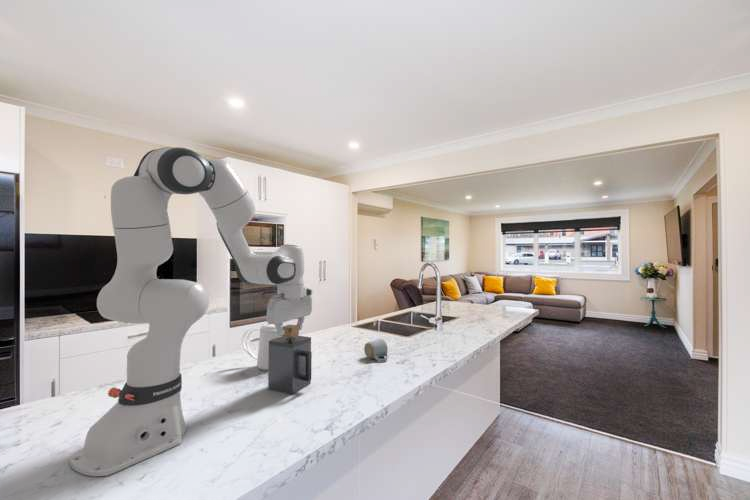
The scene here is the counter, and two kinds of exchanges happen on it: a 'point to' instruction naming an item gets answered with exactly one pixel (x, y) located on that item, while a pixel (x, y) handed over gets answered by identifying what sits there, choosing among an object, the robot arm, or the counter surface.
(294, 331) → the plunger
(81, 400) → the counter surface
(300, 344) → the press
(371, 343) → the ceramic mug
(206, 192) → the robot arm
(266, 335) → the coffeepot
